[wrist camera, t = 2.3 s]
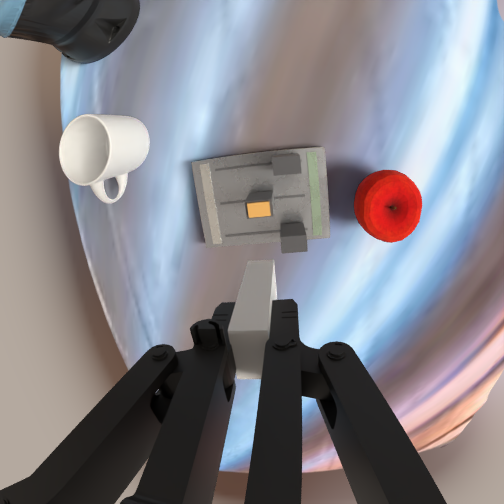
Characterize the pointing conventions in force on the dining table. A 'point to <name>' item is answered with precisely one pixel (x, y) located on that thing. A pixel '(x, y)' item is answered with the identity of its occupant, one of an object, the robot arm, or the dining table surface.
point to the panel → (259, 180)
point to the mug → (103, 150)
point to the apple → (388, 205)
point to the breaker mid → (259, 204)
